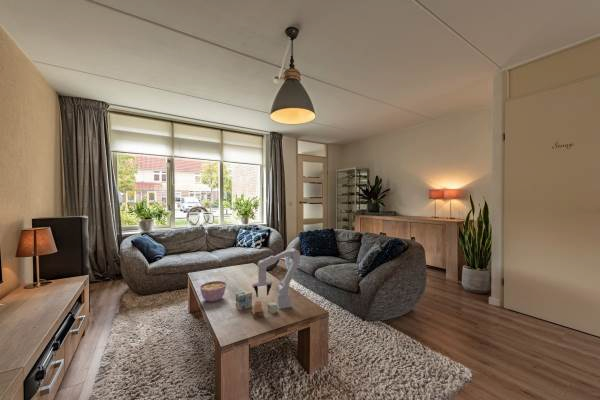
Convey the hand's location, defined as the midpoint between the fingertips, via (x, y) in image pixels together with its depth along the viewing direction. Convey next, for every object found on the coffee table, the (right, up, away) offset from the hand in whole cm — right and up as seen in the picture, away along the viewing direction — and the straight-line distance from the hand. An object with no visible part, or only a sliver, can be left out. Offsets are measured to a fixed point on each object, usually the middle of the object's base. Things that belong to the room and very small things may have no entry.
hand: (262, 295), depth 175 cm
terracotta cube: (-2, -7, -7) cm, 11 cm away
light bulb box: (-14, -11, +5) cm, 19 cm away
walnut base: (-2, -11, -7) cm, 13 cm away
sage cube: (+8, -11, -2) cm, 13 cm away
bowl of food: (-42, -11, +18) cm, 47 cm away
